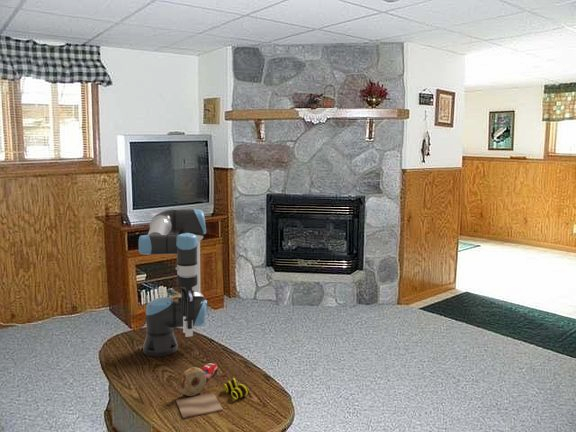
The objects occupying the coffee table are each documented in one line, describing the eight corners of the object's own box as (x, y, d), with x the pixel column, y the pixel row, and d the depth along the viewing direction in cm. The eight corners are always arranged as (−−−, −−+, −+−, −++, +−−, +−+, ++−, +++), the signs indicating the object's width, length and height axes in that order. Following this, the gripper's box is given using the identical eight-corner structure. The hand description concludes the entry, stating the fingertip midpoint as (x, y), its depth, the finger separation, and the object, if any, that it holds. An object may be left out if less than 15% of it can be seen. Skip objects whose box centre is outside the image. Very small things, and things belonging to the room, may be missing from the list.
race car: (204, 385, 191) (204, 376, 190) (192, 383, 192) (192, 373, 192) (220, 370, 203) (220, 361, 202) (208, 368, 205) (208, 359, 204)
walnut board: (176, 401, 178) (176, 400, 178) (213, 394, 184) (213, 392, 184) (182, 418, 167) (182, 417, 167) (222, 410, 173) (222, 408, 173)
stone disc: (182, 400, 179) (182, 374, 178) (178, 396, 182) (177, 370, 180) (208, 391, 185) (207, 367, 184) (203, 388, 188) (203, 363, 187)
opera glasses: (223, 392, 187) (221, 381, 186) (235, 386, 190) (233, 375, 189) (237, 403, 179) (234, 392, 178) (248, 396, 182) (246, 385, 181)
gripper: (173, 270, 190) (174, 327, 194) (181, 281, 175) (182, 343, 179) (192, 268, 193) (192, 325, 197) (202, 279, 178) (202, 340, 182)
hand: (188, 334), depth 188 cm, fingers open, 3 cm apart
